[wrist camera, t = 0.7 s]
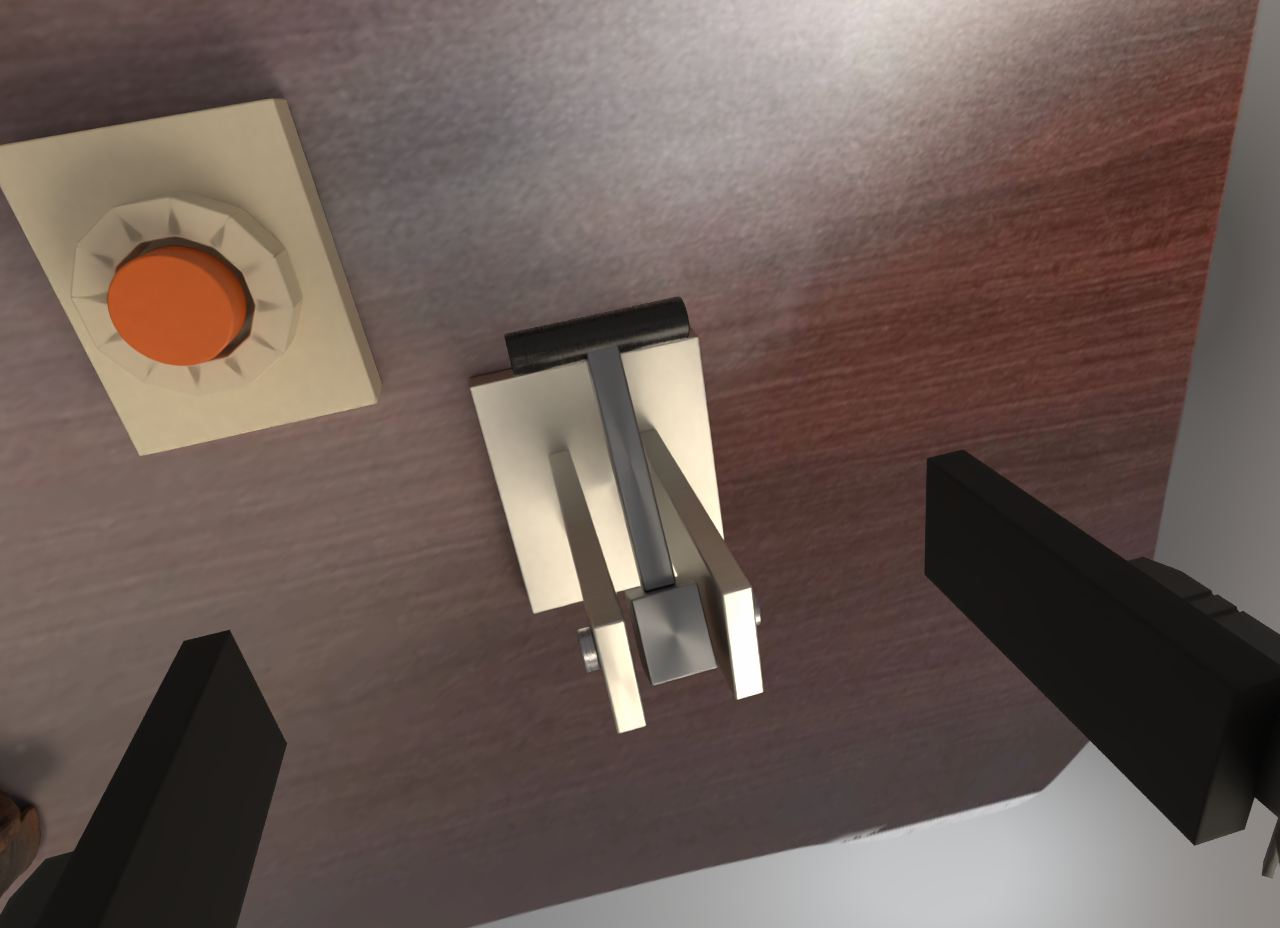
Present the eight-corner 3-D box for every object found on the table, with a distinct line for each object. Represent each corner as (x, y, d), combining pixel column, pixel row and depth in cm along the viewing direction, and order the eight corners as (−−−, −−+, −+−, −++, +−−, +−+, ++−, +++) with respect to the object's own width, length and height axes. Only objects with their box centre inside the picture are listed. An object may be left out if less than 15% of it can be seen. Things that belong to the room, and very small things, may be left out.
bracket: (468, 377, 32) (475, 542, 20) (691, 328, 34) (824, 455, 22) (530, 600, 38) (565, 835, 26) (720, 550, 39) (839, 752, 27)
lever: (506, 341, 26) (501, 326, 24) (672, 305, 27) (684, 286, 25) (589, 684, 26) (593, 702, 24) (754, 637, 27) (774, 652, 24)
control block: (15, 145, 26) (-55, 151, 22) (285, 98, 27) (260, 97, 23) (159, 434, 31) (120, 477, 27) (382, 385, 32) (373, 420, 28)
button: (107, 257, 25) (83, 267, 23) (221, 235, 25) (206, 243, 23) (156, 361, 26) (137, 377, 25) (263, 338, 27) (251, 353, 25)
